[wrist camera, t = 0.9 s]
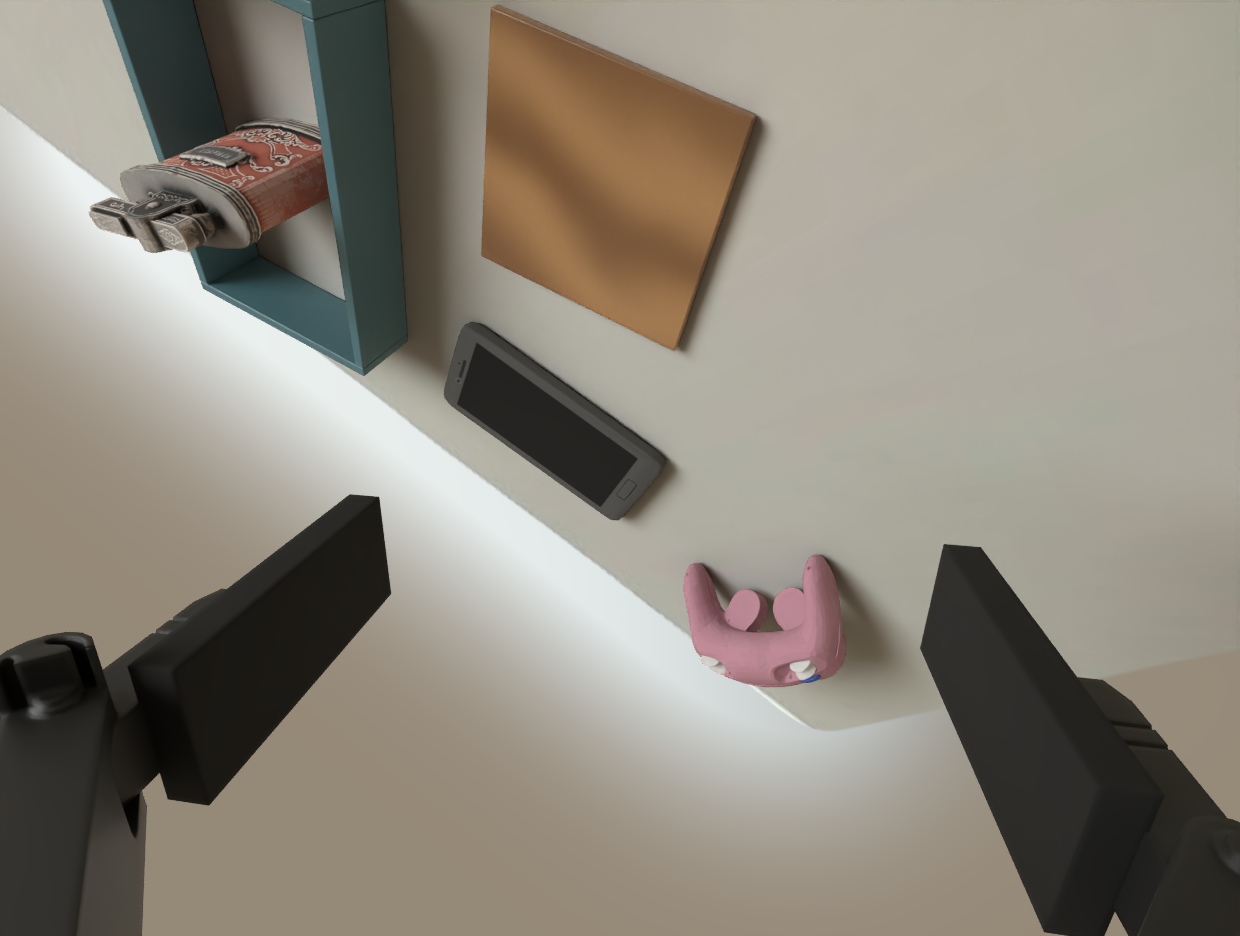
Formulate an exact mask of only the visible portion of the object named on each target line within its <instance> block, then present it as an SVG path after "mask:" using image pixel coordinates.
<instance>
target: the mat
mask: <svg viewBox="0 0 1240 936" xmlns="http://www.w3.org/2000/svg"><path fill="white" fill-rule="evenodd" d="M756 117H757V115H756V114H754V113H751V112H749V111H747V110H744V109H742V108H740V107H737V106H735V105H733V104H730V103H728V102H725V101H723V100H721V99H718V98H716V97H714V96H711V95H709V94H707V93H704V92H702V91H699V90H697V89H695V88H692V87H690V86H688V85H685V84H683V83H681V82H678V81H676V80H674V79H671V78H669V77H666V76H664V75H662V74H659V73H657V72H655V71H652V70H650V69H648V68H645V67H643V66H641V65H638V64H636V63H633V62H631V61H629V60H626V59H624V58H622V57H619V56H617V55H615V54H612V53H610V52H607V51H605V50H603V49H600V48H598V47H596V46H593V45H591V44H589V43H586V42H584V41H582V40H579V39H577V38H574V37H572V36H570V35H567V34H565V33H563V32H560V31H558V30H556V29H553V28H551V27H549V26H546V25H544V24H541V23H539V22H537V21H534V20H532V19H530V18H527V17H525V16H523V15H520V14H518V13H516V12H513V11H511V10H508V9H506V8H504V7H501V6H499V5H497V6H494V7H491V18H490V44H489V70H488V96H487V122H486V148H485V174H484V200H483V226H482V252H481V255H482V256H483V257H485V258H487V259H489V260H491V261H493V262H495V263H497V264H499V265H501V266H503V267H505V268H507V269H509V270H511V271H513V272H515V273H517V274H519V275H521V276H523V277H525V278H527V279H529V280H531V281H533V282H535V283H537V284H539V285H541V286H544V287H546V288H548V289H550V290H552V291H554V292H556V293H558V294H560V295H562V296H564V297H566V298H568V299H570V300H572V301H574V302H576V303H578V304H580V305H582V306H584V307H586V308H588V309H590V310H592V311H594V312H596V313H598V314H600V315H602V316H604V317H606V318H608V319H610V320H612V321H614V322H616V323H618V324H620V325H622V326H625V327H627V328H629V329H631V330H633V331H635V332H637V333H639V334H641V335H643V336H645V337H647V338H649V339H651V340H653V341H655V342H657V343H659V344H661V345H663V346H665V347H667V348H669V349H671V350H673V351H674V350H675V349H676V348H677V346H678V344H679V341H680V338H681V335H682V333H683V330H684V327H685V324H686V321H687V318H688V315H689V312H690V309H691V306H692V303H693V301H694V298H695V295H696V292H697V289H698V286H699V283H700V280H701V277H702V274H703V271H704V268H705V266H706V263H707V260H708V257H709V254H710V251H711V248H712V245H713V242H714V239H715V236H716V233H717V231H718V228H719V225H720V222H721V219H722V216H723V213H724V210H725V207H726V204H727V201H728V198H729V196H730V193H731V190H732V187H733V184H734V181H735V178H736V175H737V172H738V169H739V166H740V164H741V161H742V158H743V155H744V152H745V149H746V146H747V143H748V140H749V137H750V134H751V131H752V129H753V126H754V123H755V120H756Z"/></svg>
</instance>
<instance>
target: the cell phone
mask: <svg viewBox="0 0 1240 936" xmlns="http://www.w3.org/2000/svg"><path fill="white" fill-rule="evenodd" d="M444 396H445V399H446V400H447V401H448V403H449V404H450V405H451V406H452V407H454V408H455V409H456V410H458V411H459V412H460V413H462V414H463V415H465V416H466V417H467V418H469V419H470V420H472V421H473V422H474V423H476V424H477V425H479V426H480V427H481V428H483V429H484V430H486V431H487V432H488V433H490V434H491V435H493V436H494V437H495V438H497V439H498V440H500V441H501V442H502V443H504V444H505V445H507V446H508V447H509V448H511V449H512V450H514V451H515V452H516V453H518V454H519V455H521V456H522V457H523V458H525V459H526V460H527V461H529V462H530V463H532V464H533V465H534V466H536V467H537V468H539V469H540V470H541V471H543V472H544V473H546V474H547V475H548V476H550V477H551V478H553V479H554V480H555V481H557V482H558V483H560V484H561V485H562V486H564V487H565V488H567V489H568V490H569V491H571V492H572V493H574V494H575V495H576V496H578V497H579V498H581V499H582V500H583V501H585V502H586V503H587V504H589V505H590V506H592V507H593V508H594V509H596V510H597V511H599V512H600V513H601V514H603V515H604V516H606V517H607V518H609V519H611V520H619V519H620V518H622V517H623V516H624V515H626V513H627V512H628V511H629V510H630V509H631V508H632V506H633V505H634V504H635V503H636V502H637V500H638V499H639V498H640V497H641V496H642V495H643V493H644V492H645V491H646V490H647V489H648V487H649V486H650V485H651V484H652V483H653V482H654V480H655V479H656V478H657V477H658V476H659V475H660V473H661V471H662V469H663V467H664V464H665V461H664V458H663V456H662V455H661V454H660V453H658V452H657V451H656V450H655V449H654V448H652V447H651V446H650V445H648V444H647V443H645V442H644V441H643V440H641V439H640V438H638V437H637V436H636V435H634V434H633V433H631V432H630V431H629V430H627V429H626V428H625V427H623V426H622V425H620V424H619V423H618V422H616V421H615V420H613V419H612V418H611V417H609V416H608V415H606V414H605V413H604V412H602V411H601V410H600V409H598V408H597V407H595V406H594V405H593V404H591V403H590V402H588V401H587V400H586V399H584V398H583V397H581V396H580V395H579V394H577V393H576V392H575V391H573V390H572V389H570V388H569V387H568V386H566V385H565V384H563V383H562V382H561V381H559V380H558V379H556V378H555V377H554V376H552V375H551V374H550V373H548V372H547V371H545V370H544V369H543V368H541V367H540V366H538V365H537V364H536V363H534V362H533V361H531V360H530V359H529V358H527V357H526V356H525V355H523V354H522V353H520V352H519V351H518V350H516V349H515V348H513V347H512V346H511V345H509V344H508V343H507V342H505V341H504V340H502V339H501V338H500V337H498V336H497V335H495V334H494V333H493V332H491V331H490V330H488V329H487V328H485V327H484V326H482V325H481V324H478V323H474V322H470V323H468V324H466V325H465V326H464V327H463V328H462V330H461V332H460V335H459V337H458V341H457V345H456V348H455V352H454V355H453V359H452V362H451V366H450V369H449V373H448V376H447V380H446V384H445V388H444Z"/></svg>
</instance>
